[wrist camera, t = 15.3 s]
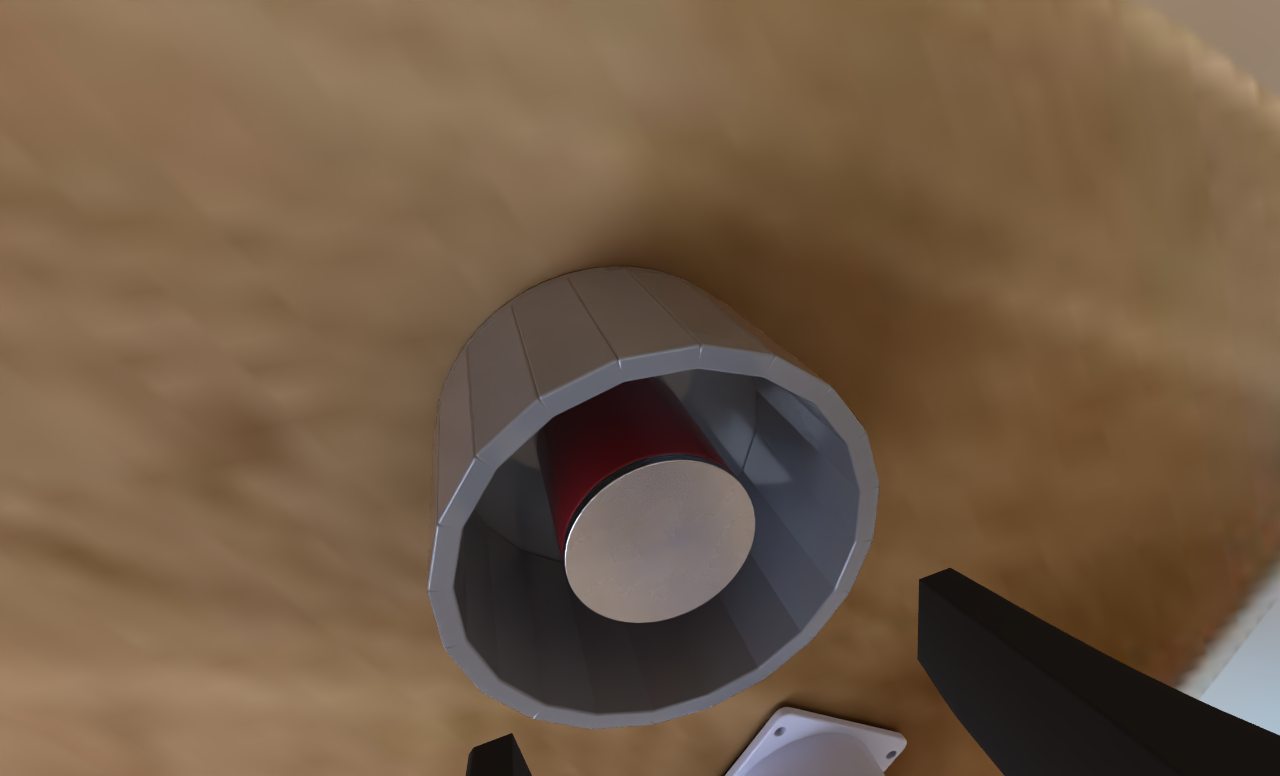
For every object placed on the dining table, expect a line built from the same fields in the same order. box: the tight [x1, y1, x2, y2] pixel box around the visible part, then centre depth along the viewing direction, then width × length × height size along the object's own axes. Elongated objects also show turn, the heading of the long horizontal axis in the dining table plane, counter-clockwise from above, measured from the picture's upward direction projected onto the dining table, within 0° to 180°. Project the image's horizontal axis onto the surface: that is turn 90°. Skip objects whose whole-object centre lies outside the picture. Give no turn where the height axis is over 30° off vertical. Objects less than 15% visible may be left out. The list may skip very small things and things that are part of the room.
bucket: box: [427, 266, 880, 729], centre depth 16 cm, size 10×10×6 cm
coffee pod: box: [537, 377, 755, 623], centre depth 16 cm, size 4×4×5 cm
